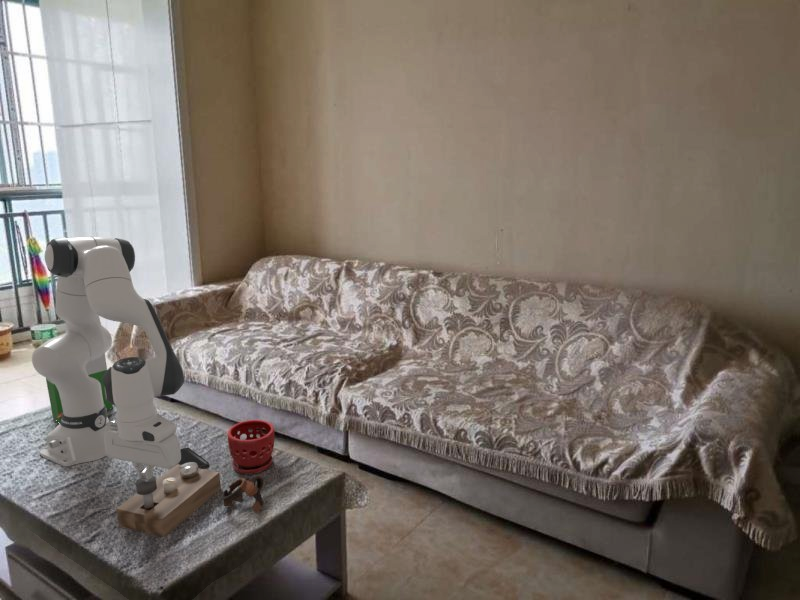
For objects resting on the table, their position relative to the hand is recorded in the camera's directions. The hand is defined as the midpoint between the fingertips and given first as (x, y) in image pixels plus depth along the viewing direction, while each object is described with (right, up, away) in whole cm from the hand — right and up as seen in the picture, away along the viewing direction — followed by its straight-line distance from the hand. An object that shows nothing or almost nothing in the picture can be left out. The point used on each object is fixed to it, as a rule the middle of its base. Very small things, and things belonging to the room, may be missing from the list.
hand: (145, 477), depth 141 cm
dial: (+2, -6, +9) cm, 11 cm away
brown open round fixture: (+22, -10, +10) cm, 26 cm away
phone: (-2, -6, +32) cm, 33 cm away
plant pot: (+19, -6, +29) cm, 35 cm away
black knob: (0, -8, +2) cm, 8 cm away
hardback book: (-52, +2, +67) cm, 85 cm away
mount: (+3, -11, +10) cm, 15 cm away
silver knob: (+5, -8, +17) cm, 19 cm away
